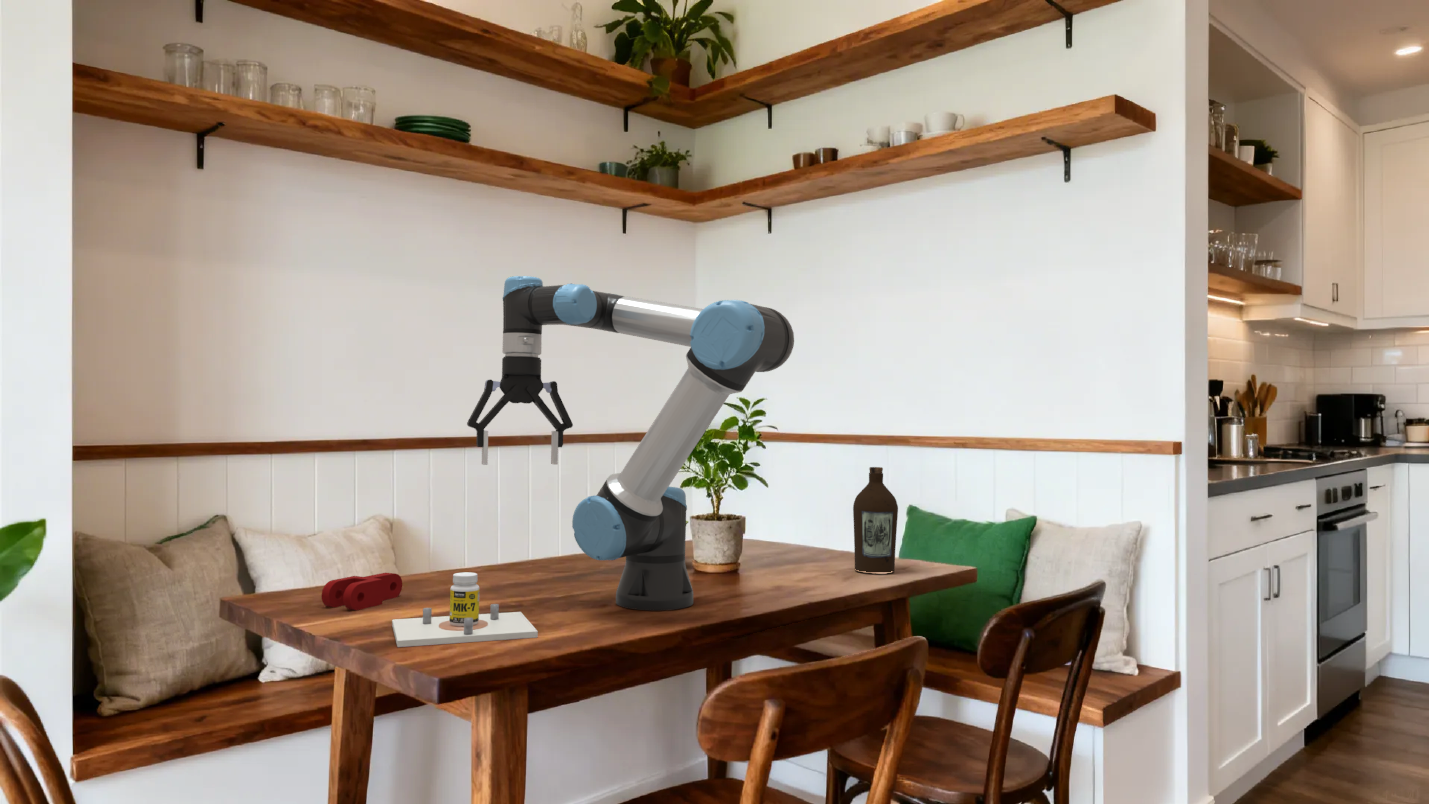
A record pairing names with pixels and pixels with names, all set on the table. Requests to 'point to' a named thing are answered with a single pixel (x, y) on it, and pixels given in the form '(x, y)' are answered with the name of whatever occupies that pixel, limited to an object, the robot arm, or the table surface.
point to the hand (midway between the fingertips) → (519, 464)
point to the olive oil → (875, 525)
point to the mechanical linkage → (361, 591)
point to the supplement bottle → (464, 598)
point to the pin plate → (462, 628)
